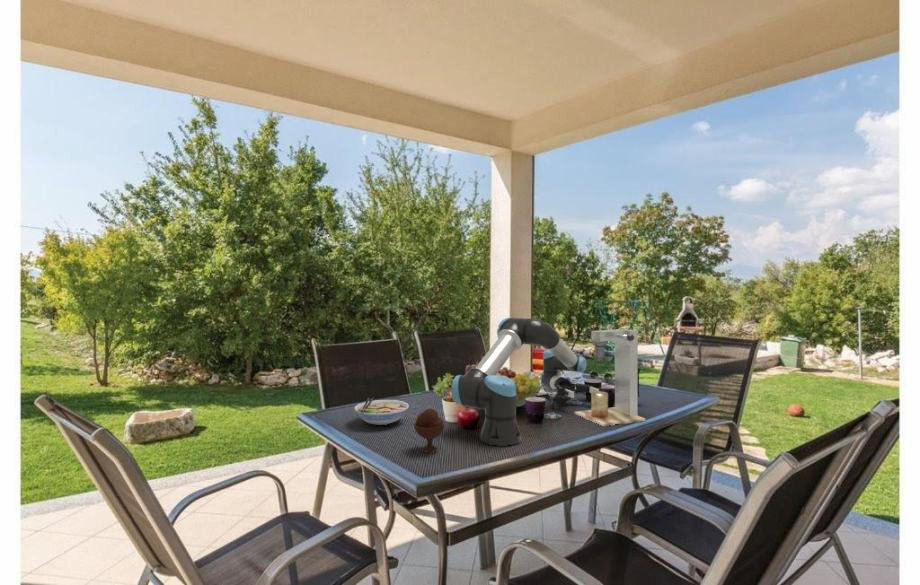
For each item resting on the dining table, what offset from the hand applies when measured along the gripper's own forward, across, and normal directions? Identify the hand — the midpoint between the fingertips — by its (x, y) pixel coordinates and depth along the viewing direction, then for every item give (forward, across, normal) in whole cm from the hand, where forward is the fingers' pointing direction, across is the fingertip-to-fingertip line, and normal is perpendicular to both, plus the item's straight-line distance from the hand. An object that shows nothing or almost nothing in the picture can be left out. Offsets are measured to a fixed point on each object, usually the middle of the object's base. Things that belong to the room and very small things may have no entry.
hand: (586, 393), depth 211 cm
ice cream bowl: (+21, +80, -9) cm, 83 cm away
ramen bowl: (-17, +90, -9) cm, 92 cm away
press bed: (+10, -5, -9) cm, 14 cm away
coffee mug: (-18, -15, -9) cm, 25 cm away
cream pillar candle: (+10, 0, -8) cm, 12 cm away
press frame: (+13, -7, -8) cm, 16 cm away
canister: (-5, -28, -9) cm, 30 cm away
